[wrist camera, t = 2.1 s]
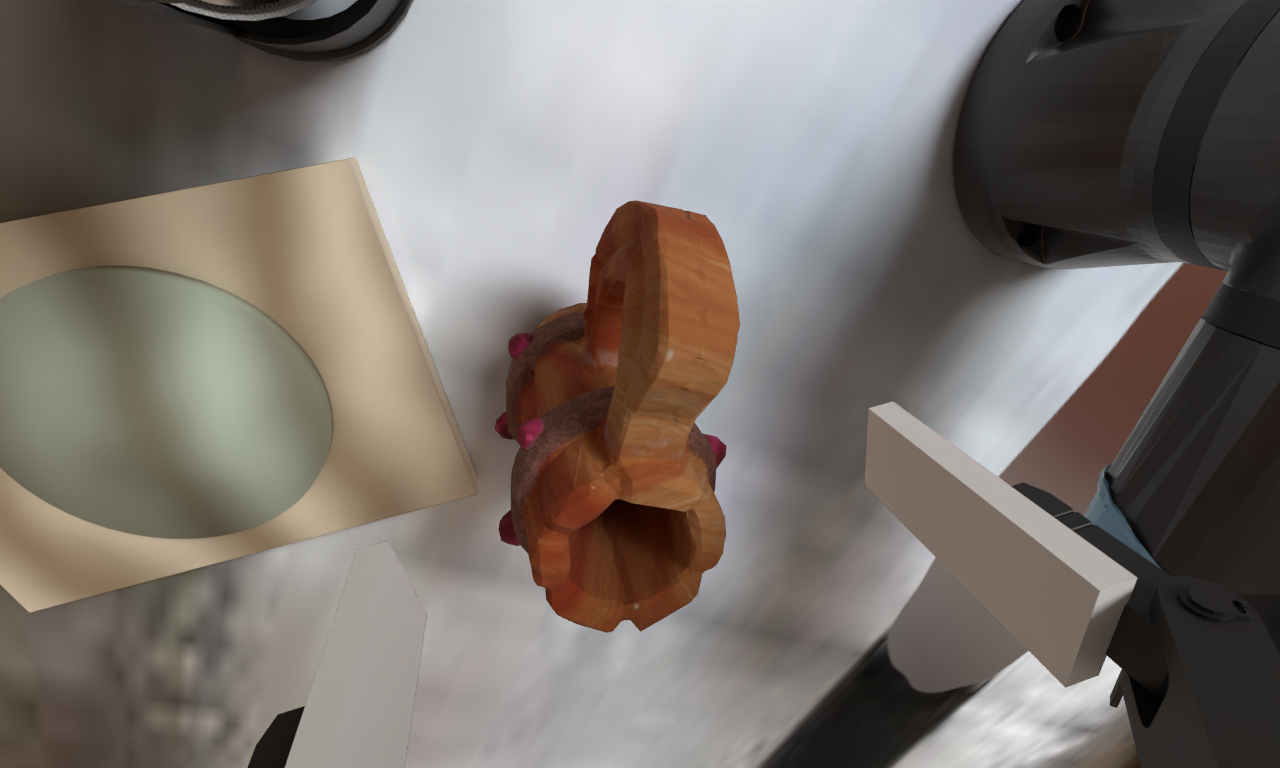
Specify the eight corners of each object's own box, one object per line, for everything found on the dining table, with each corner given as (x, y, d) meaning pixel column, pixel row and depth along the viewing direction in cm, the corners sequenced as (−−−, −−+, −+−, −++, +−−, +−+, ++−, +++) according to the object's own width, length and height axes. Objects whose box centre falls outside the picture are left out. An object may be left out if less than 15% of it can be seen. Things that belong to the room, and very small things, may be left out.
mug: (632, 449, 32) (720, 682, 19) (490, 437, 29) (477, 695, 16) (698, 194, 26) (890, 271, 13) (529, 155, 24) (556, 200, 11)
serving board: (355, 157, 22) (340, 161, 20) (477, 478, 30) (475, 503, 28) (-258, 270, 20) (-345, 287, 18) (52, 589, 28) (16, 625, 26)
